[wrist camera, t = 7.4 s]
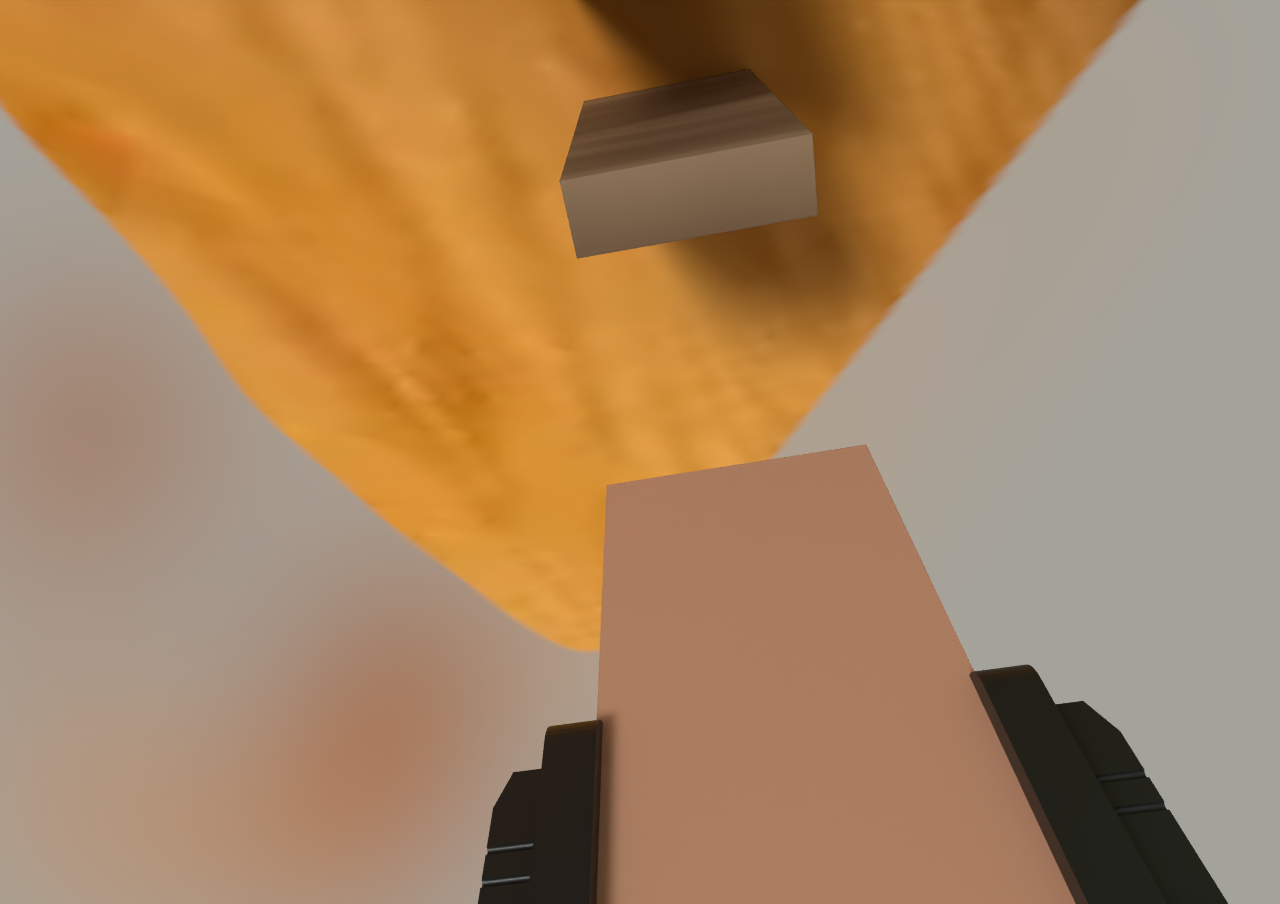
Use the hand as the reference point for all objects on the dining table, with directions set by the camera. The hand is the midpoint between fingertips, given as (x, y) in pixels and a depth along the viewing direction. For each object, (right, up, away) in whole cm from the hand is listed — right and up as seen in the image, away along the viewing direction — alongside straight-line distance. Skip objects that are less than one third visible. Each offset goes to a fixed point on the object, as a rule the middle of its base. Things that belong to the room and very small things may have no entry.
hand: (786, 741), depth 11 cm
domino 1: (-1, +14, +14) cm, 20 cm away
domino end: (0, +3, +5) cm, 6 cm away
